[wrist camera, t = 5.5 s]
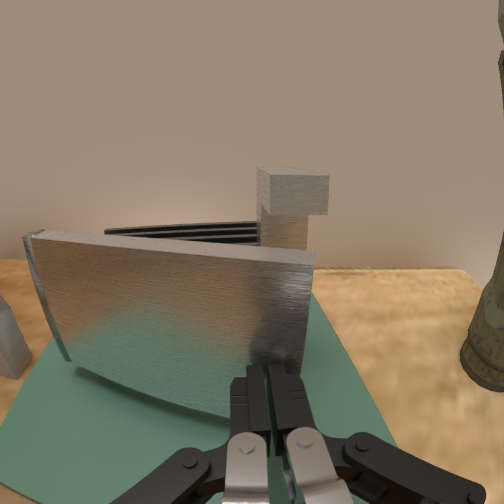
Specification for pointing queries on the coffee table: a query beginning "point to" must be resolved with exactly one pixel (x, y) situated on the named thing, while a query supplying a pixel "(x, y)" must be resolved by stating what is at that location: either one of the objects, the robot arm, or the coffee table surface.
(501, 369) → the thermos
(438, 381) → the coffee table surface
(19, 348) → the tea bag
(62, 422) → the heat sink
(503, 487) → the coffee table surface
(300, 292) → the silver metal plate
